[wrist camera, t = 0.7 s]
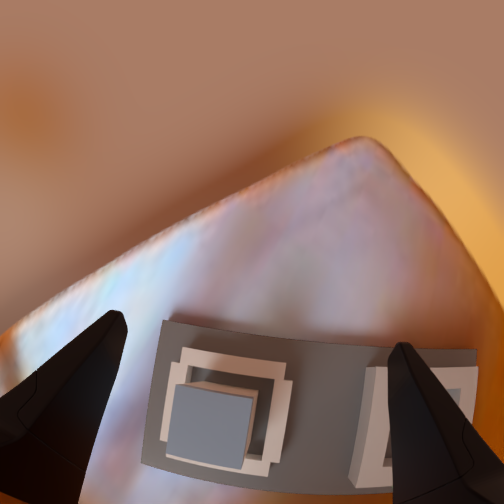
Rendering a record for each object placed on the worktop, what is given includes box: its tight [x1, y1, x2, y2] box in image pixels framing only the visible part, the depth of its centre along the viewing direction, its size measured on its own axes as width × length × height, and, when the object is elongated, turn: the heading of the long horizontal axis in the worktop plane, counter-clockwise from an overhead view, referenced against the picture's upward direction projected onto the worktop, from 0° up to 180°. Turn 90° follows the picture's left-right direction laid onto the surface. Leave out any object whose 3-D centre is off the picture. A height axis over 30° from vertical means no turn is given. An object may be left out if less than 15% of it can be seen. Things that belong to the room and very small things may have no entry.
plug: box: [166, 381, 259, 470], centre depth 17 cm, size 4×4×7 cm
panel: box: [141, 320, 478, 495], centre depth 19 cm, size 12×26×4 cm, turn 82°
